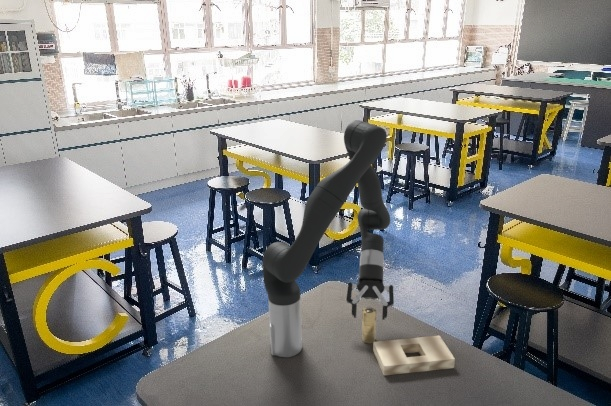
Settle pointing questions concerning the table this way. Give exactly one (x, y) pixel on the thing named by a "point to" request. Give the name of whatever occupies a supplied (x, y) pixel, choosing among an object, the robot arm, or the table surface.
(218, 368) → the table surface
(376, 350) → the jig
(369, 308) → the bushing
